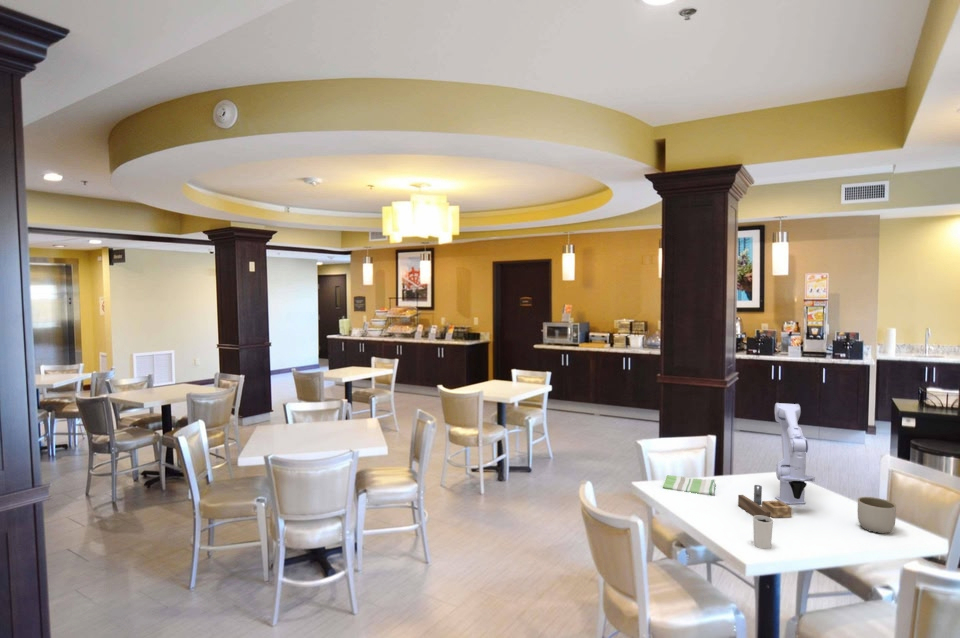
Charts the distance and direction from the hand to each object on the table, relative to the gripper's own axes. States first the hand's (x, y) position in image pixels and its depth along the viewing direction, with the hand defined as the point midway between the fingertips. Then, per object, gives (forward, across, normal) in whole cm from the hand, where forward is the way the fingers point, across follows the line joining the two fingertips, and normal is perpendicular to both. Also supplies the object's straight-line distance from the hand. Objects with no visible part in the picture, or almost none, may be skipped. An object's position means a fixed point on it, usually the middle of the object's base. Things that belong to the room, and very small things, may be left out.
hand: (796, 498), depth 238 cm
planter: (+7, +21, -18) cm, 28 cm away
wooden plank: (+7, -19, 0) cm, 20 cm away
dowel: (+7, -10, +12) cm, 17 cm away
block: (+7, -9, 0) cm, 11 cm away
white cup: (+7, -33, -28) cm, 44 cm away
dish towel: (+7, -30, +36) cm, 47 cm away
